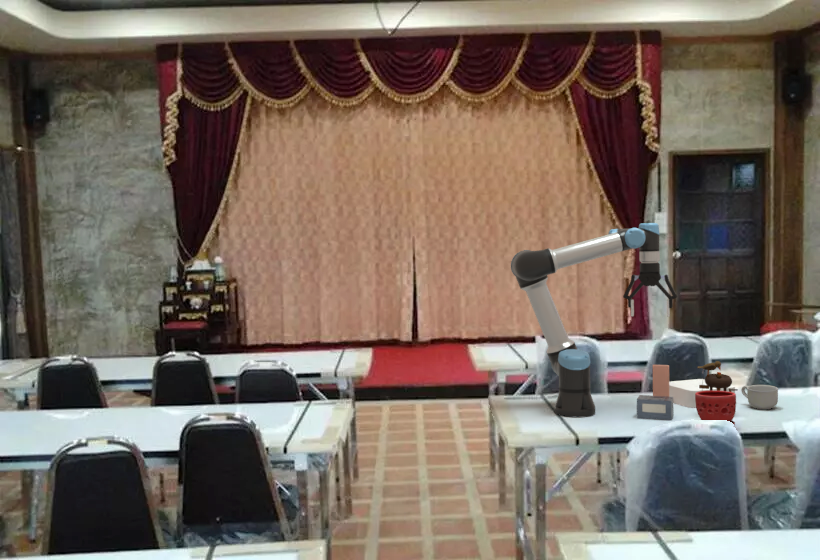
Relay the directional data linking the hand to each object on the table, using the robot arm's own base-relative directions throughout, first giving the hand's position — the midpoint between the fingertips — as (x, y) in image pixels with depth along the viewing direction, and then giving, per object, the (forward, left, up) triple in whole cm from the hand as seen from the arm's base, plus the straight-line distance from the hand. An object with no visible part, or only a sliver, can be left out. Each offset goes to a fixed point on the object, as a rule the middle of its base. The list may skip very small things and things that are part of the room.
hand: (650, 316), depth 307 cm
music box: (+25, -12, -35) cm, 45 cm away
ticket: (+4, -3, -35) cm, 35 cm away
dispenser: (+4, -23, -35) cm, 42 cm away
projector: (+17, +10, -35) cm, 40 cm away
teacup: (+39, +5, -35) cm, 53 cm away
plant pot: (+25, -33, -35) cm, 54 cm away
